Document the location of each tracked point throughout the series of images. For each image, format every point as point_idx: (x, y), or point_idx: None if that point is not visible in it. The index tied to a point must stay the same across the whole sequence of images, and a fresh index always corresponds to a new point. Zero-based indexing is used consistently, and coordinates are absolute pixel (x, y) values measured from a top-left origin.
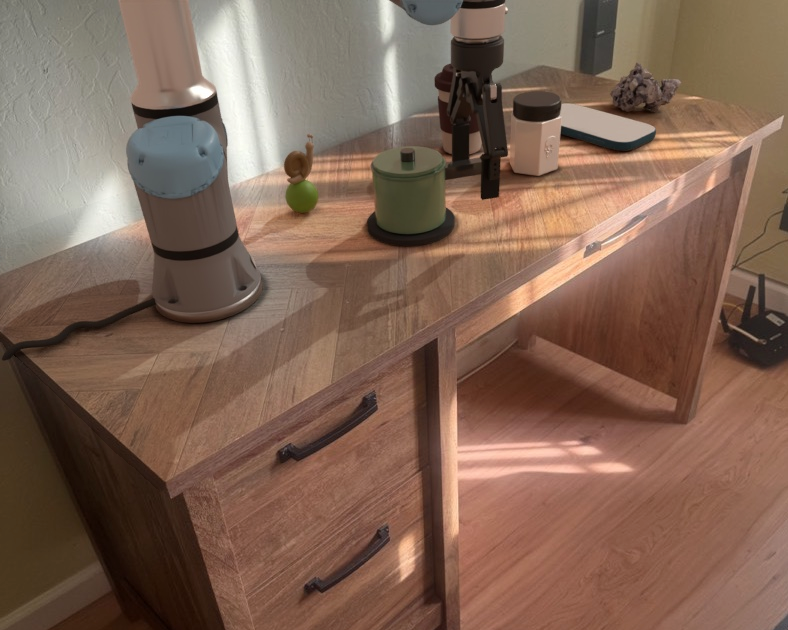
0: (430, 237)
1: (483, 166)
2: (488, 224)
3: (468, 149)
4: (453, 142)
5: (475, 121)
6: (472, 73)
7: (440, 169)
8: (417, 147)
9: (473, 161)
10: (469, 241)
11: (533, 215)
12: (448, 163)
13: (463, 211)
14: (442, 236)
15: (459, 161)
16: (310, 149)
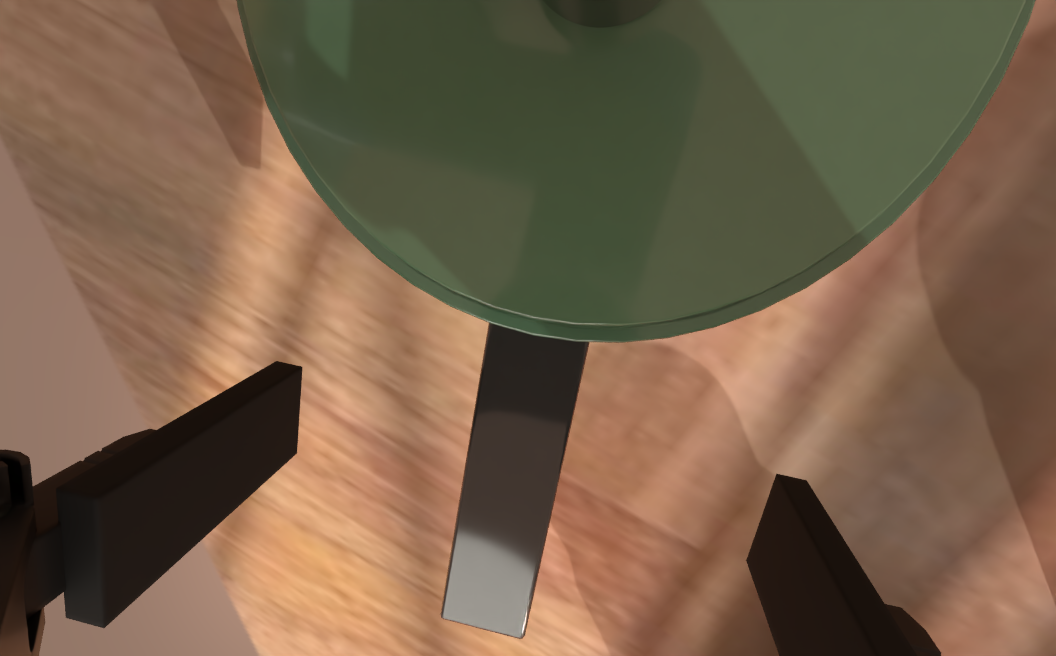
0: None
1: (117, 453)
2: (431, 384)
3: (773, 629)
4: (837, 585)
5: None
6: None
7: (309, 176)
8: (847, 201)
9: (486, 520)
10: (336, 240)
11: (414, 556)
12: (558, 364)
13: (595, 364)
14: None
15: (546, 448)
16: None
